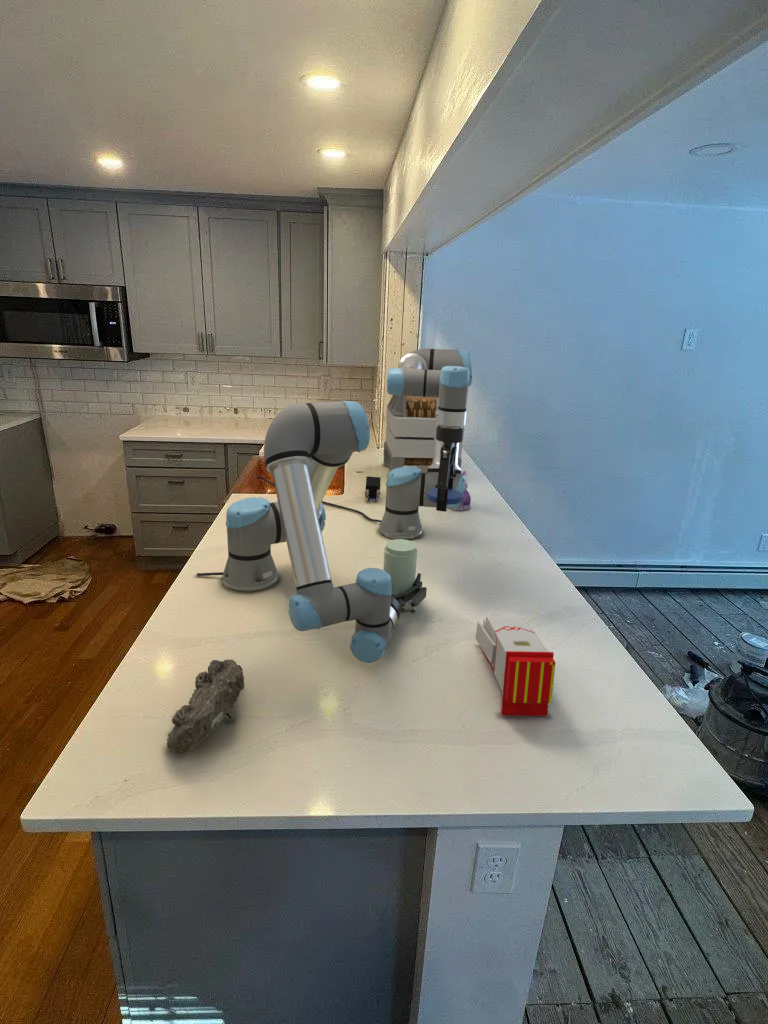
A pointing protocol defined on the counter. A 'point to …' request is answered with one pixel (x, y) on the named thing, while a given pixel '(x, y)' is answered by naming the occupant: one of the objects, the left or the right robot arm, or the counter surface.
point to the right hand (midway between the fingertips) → (444, 504)
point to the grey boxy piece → (411, 432)
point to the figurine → (464, 498)
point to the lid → (452, 498)
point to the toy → (518, 664)
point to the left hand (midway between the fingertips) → (402, 575)
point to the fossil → (206, 705)
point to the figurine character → (372, 488)
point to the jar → (400, 564)
